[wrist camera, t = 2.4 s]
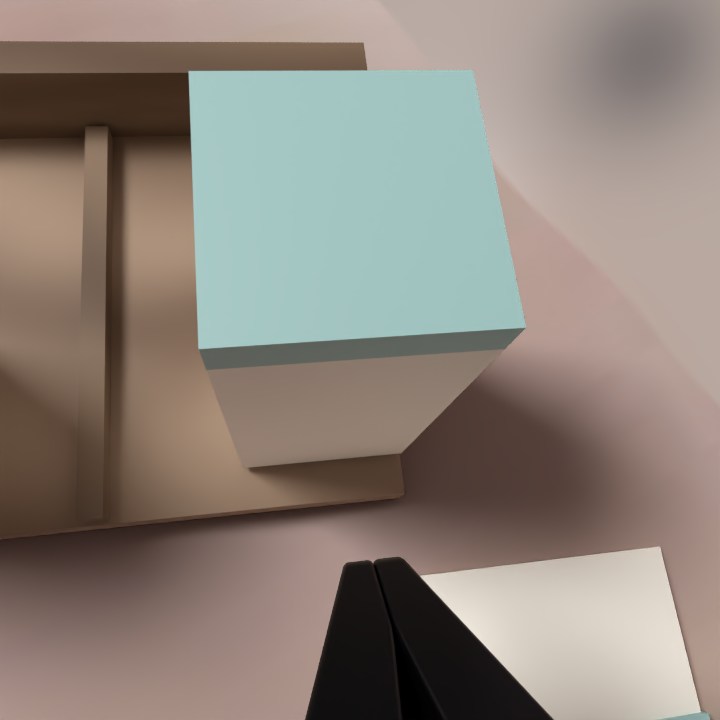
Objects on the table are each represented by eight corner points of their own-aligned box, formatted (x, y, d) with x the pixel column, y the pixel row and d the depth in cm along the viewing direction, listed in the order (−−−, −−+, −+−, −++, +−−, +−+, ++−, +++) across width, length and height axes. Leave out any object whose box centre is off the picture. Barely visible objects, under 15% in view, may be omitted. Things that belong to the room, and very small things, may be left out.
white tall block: (400, 453, 16) (526, 328, 8) (243, 468, 16) (198, 349, 7) (381, 309, 17) (472, 70, 9) (234, 318, 17) (188, 71, 9)
